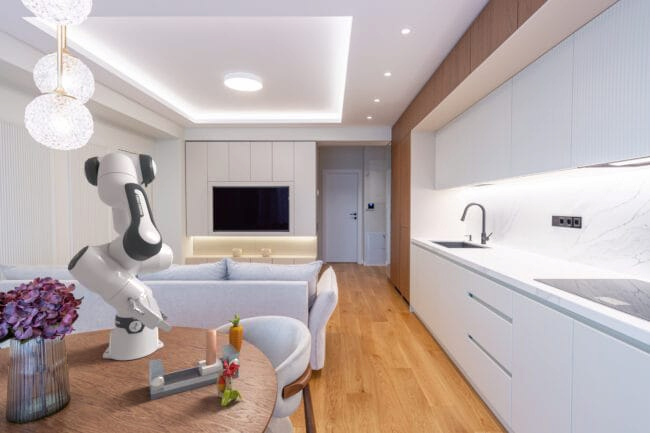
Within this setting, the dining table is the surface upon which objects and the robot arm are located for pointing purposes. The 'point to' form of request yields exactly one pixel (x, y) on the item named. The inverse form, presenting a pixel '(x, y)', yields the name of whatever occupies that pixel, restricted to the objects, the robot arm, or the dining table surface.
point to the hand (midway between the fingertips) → (167, 324)
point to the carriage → (210, 356)
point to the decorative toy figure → (227, 383)
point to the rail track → (185, 376)
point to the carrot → (236, 334)
